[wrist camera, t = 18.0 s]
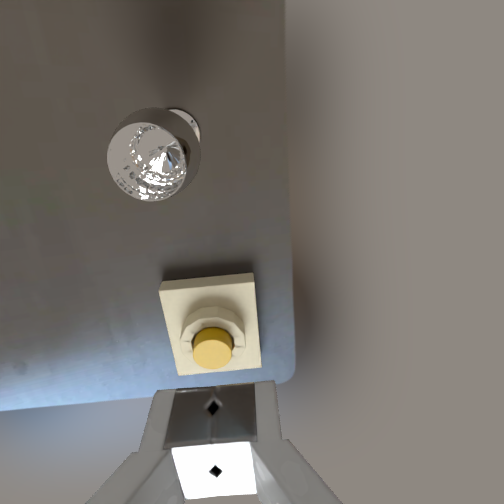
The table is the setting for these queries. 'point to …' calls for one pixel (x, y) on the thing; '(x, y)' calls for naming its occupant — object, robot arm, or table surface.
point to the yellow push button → (212, 348)
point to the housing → (212, 318)
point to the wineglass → (155, 153)
